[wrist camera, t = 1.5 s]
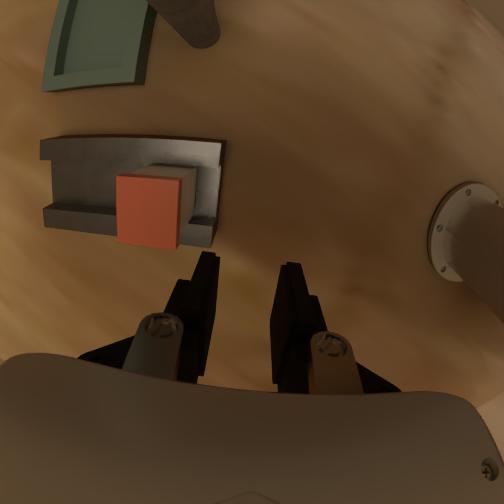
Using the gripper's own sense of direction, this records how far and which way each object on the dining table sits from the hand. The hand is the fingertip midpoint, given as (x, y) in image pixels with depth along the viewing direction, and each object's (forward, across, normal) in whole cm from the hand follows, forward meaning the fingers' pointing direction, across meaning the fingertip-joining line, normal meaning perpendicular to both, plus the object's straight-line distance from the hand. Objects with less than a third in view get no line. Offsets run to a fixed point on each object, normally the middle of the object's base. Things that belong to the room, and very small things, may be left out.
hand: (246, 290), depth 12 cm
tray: (+17, +17, -21) cm, 32 cm away
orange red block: (+15, +7, 0) cm, 16 cm away
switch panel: (+17, +12, 0) cm, 21 cm away
